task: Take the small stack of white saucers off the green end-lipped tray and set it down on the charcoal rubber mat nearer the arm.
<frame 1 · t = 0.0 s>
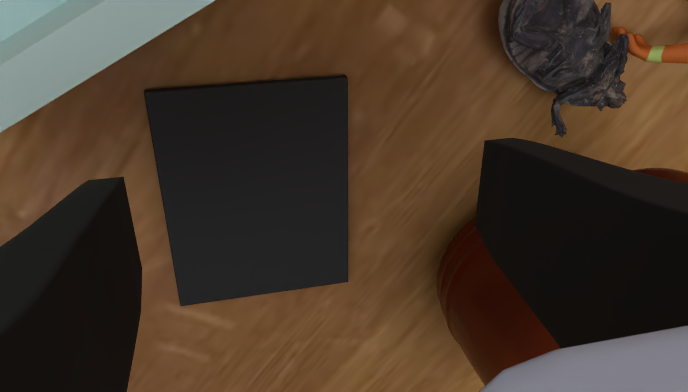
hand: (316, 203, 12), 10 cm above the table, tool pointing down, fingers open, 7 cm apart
mat: (258, 195, 23), on the table
mug: (515, 227, 27), on the table
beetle: (558, 133, 20), point 3 cm above the table
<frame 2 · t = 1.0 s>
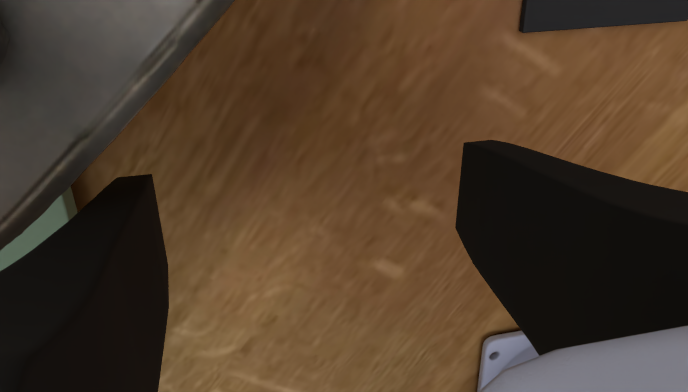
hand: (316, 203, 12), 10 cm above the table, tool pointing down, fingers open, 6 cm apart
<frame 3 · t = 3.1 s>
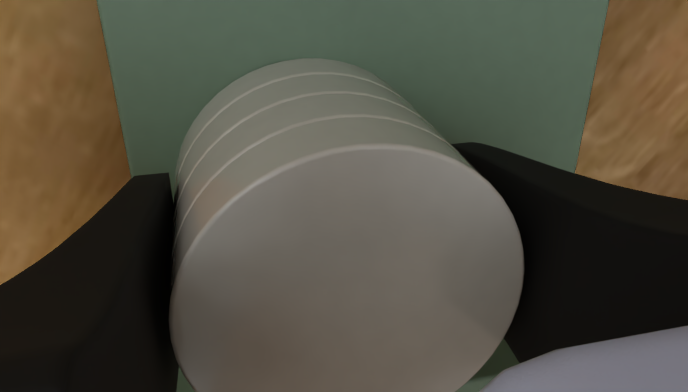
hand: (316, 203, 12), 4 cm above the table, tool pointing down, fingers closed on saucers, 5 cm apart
green end-lipped tray: (343, 8, 14), on the table
saucers: (306, 183, 12), point 3 cm above the table, touching gripper, green end-lipped tray
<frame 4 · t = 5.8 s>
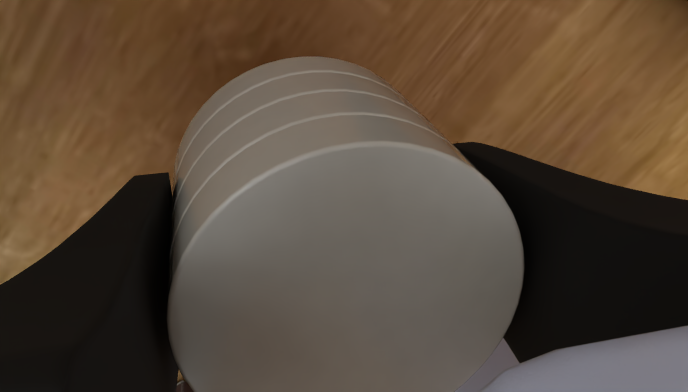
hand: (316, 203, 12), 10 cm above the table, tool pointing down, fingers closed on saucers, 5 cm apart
saucers: (305, 182, 12), point 10 cm above the table, touching gripper
when the fingers open (1 cm above the table, at t = 8.8 s): saucers stays where it is, resting on mat.
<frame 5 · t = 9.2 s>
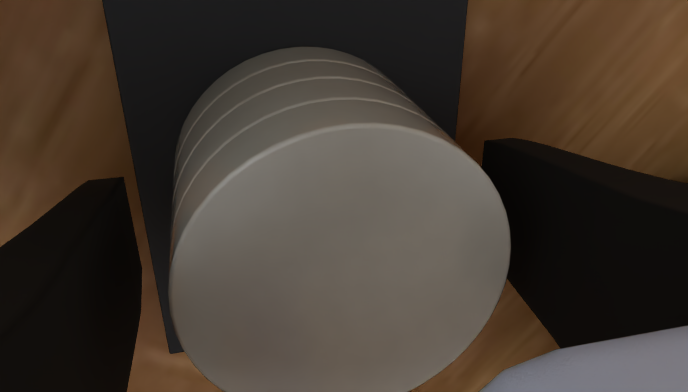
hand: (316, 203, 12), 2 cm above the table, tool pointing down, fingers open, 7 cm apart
mat: (302, 167, 13), on the table
saucers: (302, 169, 13), resting on mat
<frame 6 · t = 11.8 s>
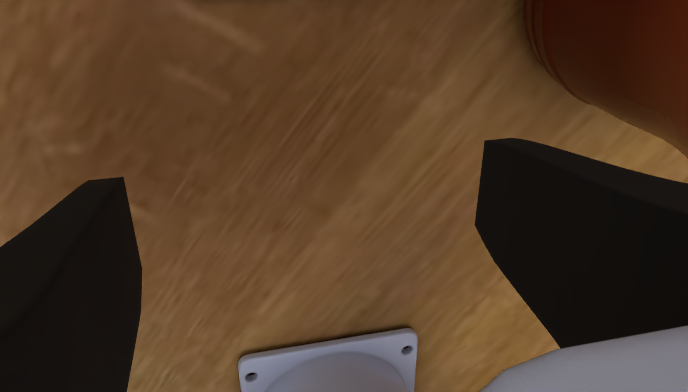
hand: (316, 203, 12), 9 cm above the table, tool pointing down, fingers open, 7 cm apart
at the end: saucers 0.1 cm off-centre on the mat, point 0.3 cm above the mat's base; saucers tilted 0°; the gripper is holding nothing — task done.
